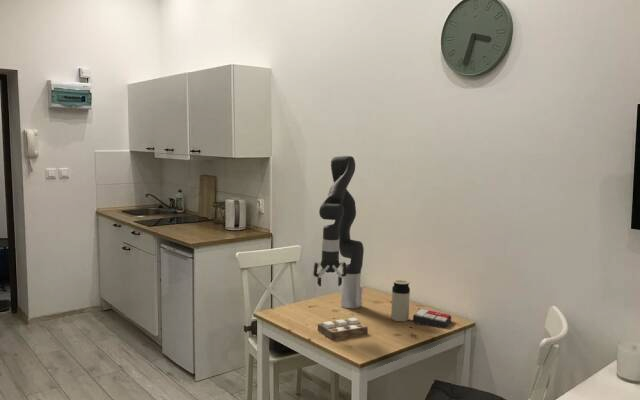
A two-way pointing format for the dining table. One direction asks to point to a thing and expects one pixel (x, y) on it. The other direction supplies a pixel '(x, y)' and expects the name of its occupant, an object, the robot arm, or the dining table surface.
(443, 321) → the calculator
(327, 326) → the key
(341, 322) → the key middle
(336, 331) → the button board
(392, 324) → the dining table surface
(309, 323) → the dining table surface
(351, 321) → the key
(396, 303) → the travel mug
